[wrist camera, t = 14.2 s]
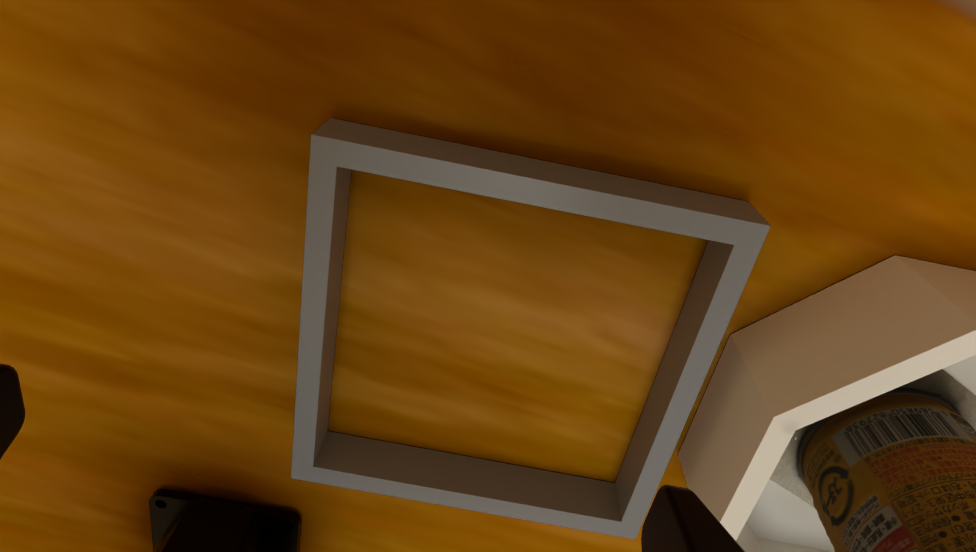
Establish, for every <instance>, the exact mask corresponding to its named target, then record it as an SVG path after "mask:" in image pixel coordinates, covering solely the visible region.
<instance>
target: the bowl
mask: <svg viewBox="0 0 976 552" xmlns="http://www.w3.org/2000/svg"><path fill="white" fill-rule="evenodd" d="M941 369H943V370H944V371H946V372H947V373H948V374H950V375H951V376H952V377H953V378H954V379H956V380H957V381H958V382H959V383H961V384H962V385H963V386H965V387H966V388H967V389H968V390H969V391H971V392H972V393H973V394H975V395H976V271H972V270H967V269H962V268H957V267H952V266H947V265H942V264H937V263H932V262H927V261H922V260H917V259H912V258H907V257H902V256H897V255H894V256H892V257H890V258H888V259H886V260H884V261H882V262H880V263H878V264H876V265H874V266H872V267H869V268H867V269H865V270H863V271H861V272H859V273H857V274H855V275H853V276H851V277H849V278H847V279H845V280H843V281H840V282H838V283H836V284H834V285H832V286H830V287H828V288H826V289H824V290H822V291H820V292H818V293H816V294H813V295H811V296H809V297H807V298H805V299H803V300H801V301H799V302H797V303H795V304H793V305H791V306H789V307H787V308H784V309H782V310H780V311H778V312H776V313H774V314H772V315H770V316H768V317H766V318H764V319H762V320H760V321H757V322H755V323H753V324H751V325H749V326H747V327H745V328H743V329H741V330H739V331H737V332H735V333H733V334H731V335H730V337H729V339H728V341H727V343H726V346H725V348H724V350H723V353H722V355H721V357H720V359H719V362H718V364H717V366H716V369H715V371H714V373H713V375H712V378H711V380H710V382H709V385H708V387H707V389H706V391H705V394H704V396H703V398H702V401H701V403H700V405H699V407H698V410H697V412H696V414H695V417H694V419H693V421H692V423H691V426H690V428H689V430H688V432H687V435H686V437H685V439H684V442H683V444H682V446H681V448H680V451H679V453H678V456H679V459H680V463H681V466H682V469H683V473H684V476H685V479H686V483H687V486H688V489H690V490H692V491H693V492H694V493H695V494H696V495H697V496H698V497H699V499H700V500H701V501H702V502H703V503H704V504H705V506H706V507H707V508H708V509H709V510H710V511H711V513H712V514H713V515H714V516H715V517H716V518H717V520H718V521H719V522H720V523H721V524H722V525H723V527H724V528H725V529H726V530H727V531H728V532H729V534H730V535H731V536H732V537H733V538H734V539H735V541H736V542H737V543H738V544H739V545H740V546H741V548H742V549H743V550H744V551H745V552H835V551H834V547H833V545H832V544H831V542H830V539H829V537H828V536H827V534H826V531H825V528H824V527H823V525H822V522H821V521H820V519H819V516H818V513H817V510H816V509H815V508H813V507H812V506H810V505H809V504H807V503H806V502H804V501H803V500H802V499H800V498H799V497H797V496H796V495H794V494H792V493H791V492H789V491H788V490H786V489H784V488H783V487H781V486H779V485H778V484H777V483H775V482H773V481H771V480H770V477H771V475H772V473H773V471H774V469H775V468H776V466H777V464H778V462H779V460H780V458H781V456H782V455H783V453H784V451H785V449H786V447H787V445H788V443H789V442H790V440H791V438H792V436H793V434H794V432H795V431H796V430H798V429H800V428H803V427H805V426H807V425H810V424H812V423H814V422H817V421H819V420H822V419H824V418H826V417H829V416H831V415H833V414H836V413H838V412H841V411H843V410H845V409H848V408H850V407H853V406H855V405H857V404H860V403H862V402H864V401H867V400H869V399H872V398H874V397H876V396H879V395H881V394H883V393H886V392H888V391H891V390H893V389H895V388H898V387H900V386H902V385H905V384H907V383H910V382H912V381H914V380H917V379H919V378H922V377H924V376H926V375H929V374H931V373H933V372H936V371H938V370H941ZM796 438H797V437H796ZM796 438H795V440H796Z"/></svg>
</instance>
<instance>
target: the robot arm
mask: <svg viewBox="0 0 976 552" xmlns="http://www.w3.org/2000/svg"><path fill="white" fill-rule="evenodd" d="M24 419H25V408H24V403H23V398H22V393H21V388H20V382H19V377H18V374H17V371H16V370H15V369H14V368H13V367H11V366H10V365H6V364H0V459H1V457H2V456H3V454H4V453H5V451H6V450H7V449H8V447H9V446H10V444H11V443H12V441H13V440H14V438H15V437H16V435H17V434H18V433H19V431H20V429H21V427H22V425H23V422H24ZM149 506H150V517H151V529H152V540H153V552H299V547H300V533H301V517H300V516H299V515H298V514H297V513H295V512H292V511H287V510H282V509H276V508H270V507H265V506H259V505H253V504H248V503H242V502H236V501H231V500H225V499H219V498H214V497H208V496H202V495H196V494H191V493H185V492H179V491H174V490H168V489H158V490H156V491H155V492H154V494H153V495H152V497H151V498H150V501H149ZM641 544H642V552H745V551H744V550H743V549H742V548H741V546H740V545H739V544H738V543H737V542H736V541H735V539H734V538H733V537H732V536H731V535H730V534H729V532H728V531H727V530H726V529H725V528H724V527H723V525H722V524H721V523H720V522H719V521H718V520H717V518H716V517H715V516H714V515H713V514H712V513H711V511H710V510H709V509H708V508H707V507H706V506H705V504H704V503H703V502H702V501H701V500H700V499H699V497H698V496H697V495H696V494H695V493H694V492H693V491H692V490H690V489H687V488H682V487H676V486H671V485H663V486H662V487H661V488H660V489H659V490H658V492H657V494H656V497H655V499H654V501H653V503H652V506H651V508H650V510H649V513H648V515H647V517H646V520H645V522H644V525H643V529H642V537H641Z"/></svg>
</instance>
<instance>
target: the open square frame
mask: <svg viewBox="0 0 976 552" xmlns="http://www.w3.org/2000/svg"><path fill="white" fill-rule="evenodd" d="M351 169H352V170H357V171H362V172H367V173H372V174H377V175H382V176H387V177H392V178H397V179H402V180H407V181H412V182H417V183H423V184H428V185H433V186H438V187H443V188H448V189H453V190H458V191H463V192H468V193H473V194H478V195H483V196H488V197H493V198H499V199H504V200H509V201H514V202H519V203H524V204H529V205H534V206H539V207H544V208H549V209H554V210H559V211H564V212H569V213H574V214H580V215H585V216H590V217H595V218H600V219H605V220H610V221H615V222H620V223H625V224H630V225H635V226H640V227H645V228H650V229H655V230H661V231H666V232H671V233H676V234H681V235H686V236H691V237H696V238H701V239H706V240H708V243H707V246H706V248H705V251H704V253H703V256H702V259H701V261H700V264H699V266H698V269H697V272H696V274H695V277H694V279H693V282H692V284H691V287H690V290H689V292H688V295H687V297H686V300H685V303H684V305H683V308H682V310H681V313H680V316H679V318H678V321H677V323H676V326H675V328H674V331H673V334H672V336H671V339H670V341H669V344H668V347H667V349H666V352H665V354H664V357H663V360H662V362H661V365H660V367H659V370H658V372H657V375H656V378H655V380H654V383H653V385H652V388H651V391H650V393H649V396H648V398H647V401H646V404H645V406H644V409H643V411H642V414H641V416H640V419H639V422H638V424H637V427H636V429H635V432H634V435H633V437H632V440H631V442H630V445H629V448H628V450H627V453H626V455H625V458H624V460H623V463H622V466H621V468H620V471H619V473H618V476H617V479H616V481H615V483H611V482H606V481H600V480H595V479H589V478H584V477H578V476H573V475H567V474H561V473H556V472H550V471H545V470H539V469H534V468H528V467H523V466H517V465H512V464H506V463H501V462H495V461H490V460H484V459H479V458H473V457H468V456H462V455H457V454H451V453H446V452H440V451H435V450H429V449H424V448H418V447H412V446H407V445H401V444H396V443H390V442H385V441H379V440H374V439H368V438H363V437H357V436H352V435H346V434H341V433H335V432H330V431H328V421H329V410H330V399H331V388H332V377H333V366H334V355H335V344H336V333H337V322H338V311H339V300H340V289H341V278H342V267H343V256H344V245H345V234H346V223H347V212H348V201H349V190H350V179H351ZM769 229H770V225H769V224H768V222H767V221H766V220H765V219H764V218H763V217H762V216H761V214H760V213H759V212H758V211H757V210H756V209H755V208H754V207H753V205H752V204H751V203H750V202H748V201H743V200H738V199H733V198H728V197H723V196H718V195H713V194H708V193H703V192H698V191H693V190H688V189H683V188H678V187H673V186H668V185H663V184H658V183H653V182H648V181H643V180H638V179H633V178H628V177H623V176H618V175H613V174H608V173H603V172H598V171H593V170H588V169H583V168H578V167H573V166H568V165H563V164H558V163H553V162H548V161H543V160H538V159H533V158H528V157H523V156H518V155H513V154H508V153H503V152H498V151H493V150H488V149H483V148H478V147H473V146H468V145H463V144H458V143H453V142H448V141H443V140H438V139H433V138H428V137H423V136H418V135H413V134H408V133H403V132H398V131H393V130H388V129H383V128H378V127H373V126H368V125H363V124H358V123H353V122H348V121H343V120H338V119H333V118H330V119H328V120H327V121H326V122H325V123H324V124H323V125H322V126H320V127H319V128H318V129H317V130H316V131H315V132H313V133H312V134H311V145H310V162H309V179H308V196H307V214H306V231H305V248H304V265H303V282H302V299H301V316H300V334H299V351H298V368H297V385H296V402H295V419H294V437H293V454H292V471H291V478H292V479H298V480H303V481H309V482H315V483H320V484H326V485H331V486H337V487H343V488H348V489H354V490H360V491H365V492H371V493H376V494H382V495H388V496H393V497H399V498H405V499H410V500H416V501H421V502H427V503H433V504H438V505H444V506H450V507H455V508H461V509H466V510H472V511H478V512H483V513H489V514H494V515H500V516H506V517H511V518H517V519H523V520H528V521H534V522H539V523H545V524H551V525H556V526H562V527H568V528H573V529H579V530H584V531H590V532H596V533H601V534H607V535H613V536H618V537H624V538H629V539H636V537H637V534H638V532H639V530H640V527H641V525H642V523H643V520H644V518H645V516H646V514H647V511H648V509H649V507H650V504H651V502H652V500H653V497H654V495H655V493H656V490H657V488H658V486H659V483H660V481H661V479H662V476H663V474H664V472H665V470H666V467H667V465H668V463H669V460H670V458H671V456H672V453H673V451H674V449H675V446H676V444H677V442H678V439H679V437H680V435H681V432H682V430H683V428H684V426H685V423H686V421H687V419H688V416H689V414H690V412H691V409H692V407H693V405H694V402H695V400H696V398H697V395H698V393H699V391H700V388H701V386H702V384H703V382H704V379H705V377H706V375H707V372H708V370H709V368H710V365H711V363H712V361H713V358H714V356H715V354H716V351H717V349H718V347H719V344H720V342H721V340H722V338H723V335H724V333H725V331H726V328H727V326H728V324H729V321H730V319H731V317H732V314H733V312H734V310H735V307H736V305H737V303H738V300H739V298H740V296H741V294H742V291H743V289H744V287H745V284H746V282H747V280H748V277H749V275H750V273H751V270H752V268H753V266H754V263H755V261H756V259H757V256H758V254H759V252H760V250H761V247H762V245H763V243H764V240H765V238H766V236H767V233H768V231H769Z"/></svg>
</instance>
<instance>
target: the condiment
mask: <svg viewBox="0 0 976 552" xmlns="http://www.w3.org/2000/svg"><path fill="white" fill-rule="evenodd" d="M796 437H797V438H796ZM795 438H796V440H795ZM770 480H771V481H773V482H775V483H777V484H778V485H779V486H781V487H783V488H784V489H786V490H788V491H789V492H791V493H792V494H794V495H796V496H797V497H799V498H800V499H802V500H803V501H804V502H806V503H807V504H809V505H810V506H812V507H813V508H815V509H816V510H817V513H818V516H819V519H820V521H821V522H822V525H823V527H824V528H825V531H826V534H827V536H828V537H829V539H830V542H831V544H832V545H833V547H834V551H835V552H976V395H975V394H973V393H972V392H971V391H969V390H968V389H967V388H966V387H965V386H963V385H962V384H961V383H959V382H958V381H957V380H956V379H954V378H953V377H952V376H951V375H950V374H948V373H947V372H946V371H944V370H943V369H941V370H938V371H936V372H933V373H931V374H929V375H926V376H924V377H922V378H919V379H917V380H914V381H912V382H910V383H907V384H905V385H902V386H900V387H898V388H895V389H893V390H891V391H888V392H886V393H883V394H881V395H879V396H876V397H874V398H872V399H869V400H867V401H864V402H862V403H860V404H857V405H855V406H853V407H850V408H848V409H845V410H843V411H841V412H838V413H836V414H833V415H831V416H829V417H826V418H824V419H822V420H819V421H817V422H814V423H812V424H810V425H807V426H805V427H803V428H800V429H798V430H796V431H795V432H794V434H793V436H792V438H791V440H790V442H789V443H788V445H787V447H786V449H785V451H784V453H783V455H782V456H781V458H780V460H779V462H778V464H777V466H776V468H775V469H774V471H773V473H772V475H771V477H770Z"/></svg>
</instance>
